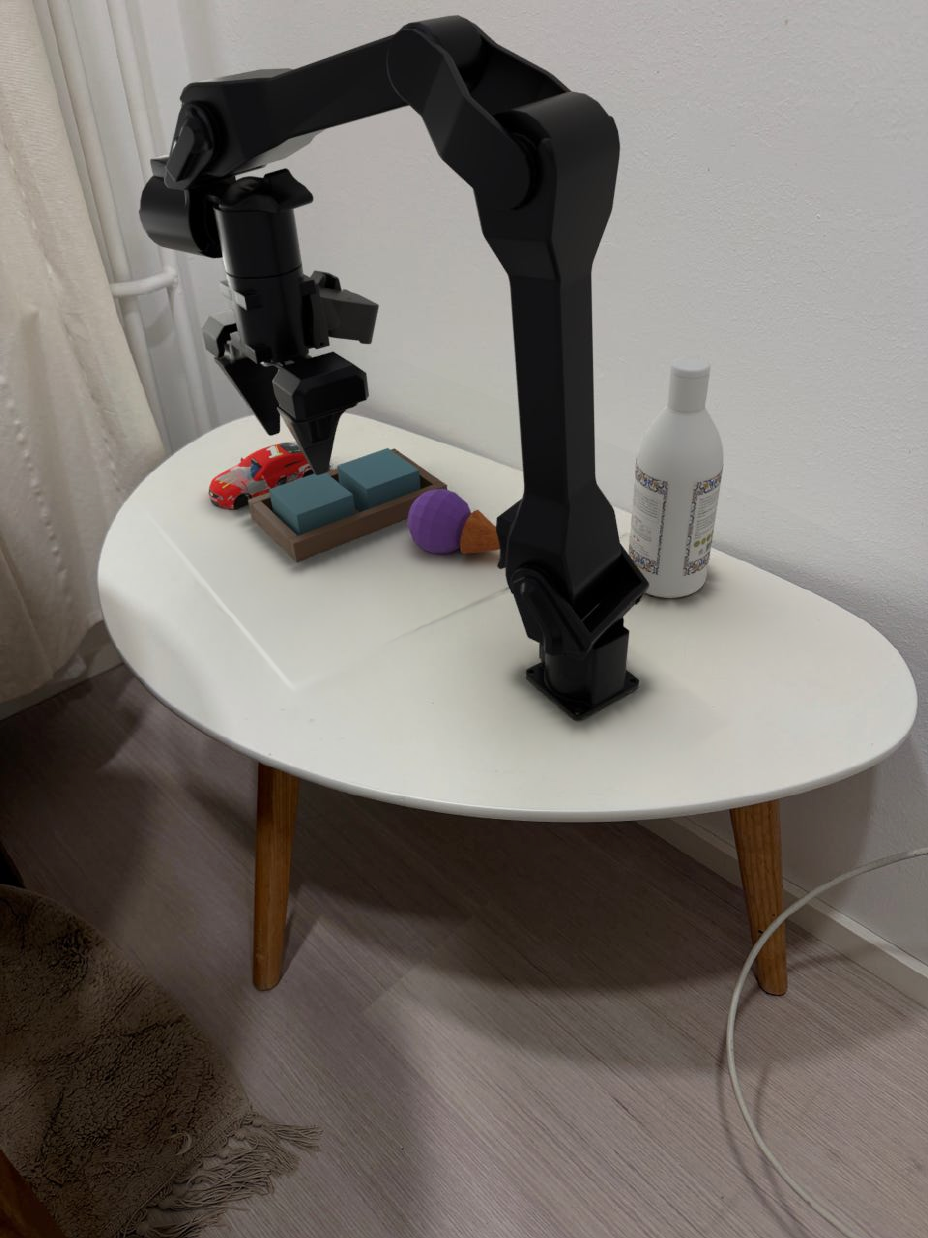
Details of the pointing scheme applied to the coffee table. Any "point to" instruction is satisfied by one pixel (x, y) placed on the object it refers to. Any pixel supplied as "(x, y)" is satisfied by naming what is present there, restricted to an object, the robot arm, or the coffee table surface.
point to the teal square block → (378, 478)
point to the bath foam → (677, 486)
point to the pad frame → (343, 528)
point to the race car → (259, 475)
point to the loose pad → (311, 503)
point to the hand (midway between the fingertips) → (296, 452)
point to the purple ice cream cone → (449, 524)
